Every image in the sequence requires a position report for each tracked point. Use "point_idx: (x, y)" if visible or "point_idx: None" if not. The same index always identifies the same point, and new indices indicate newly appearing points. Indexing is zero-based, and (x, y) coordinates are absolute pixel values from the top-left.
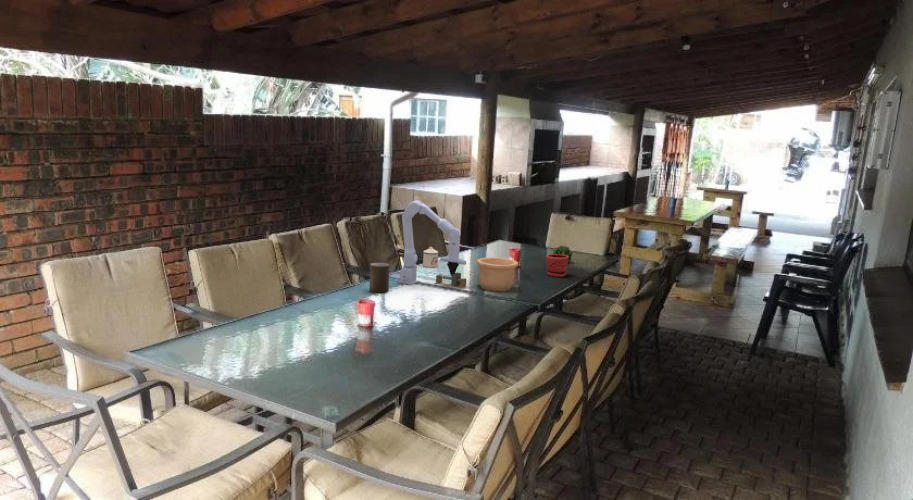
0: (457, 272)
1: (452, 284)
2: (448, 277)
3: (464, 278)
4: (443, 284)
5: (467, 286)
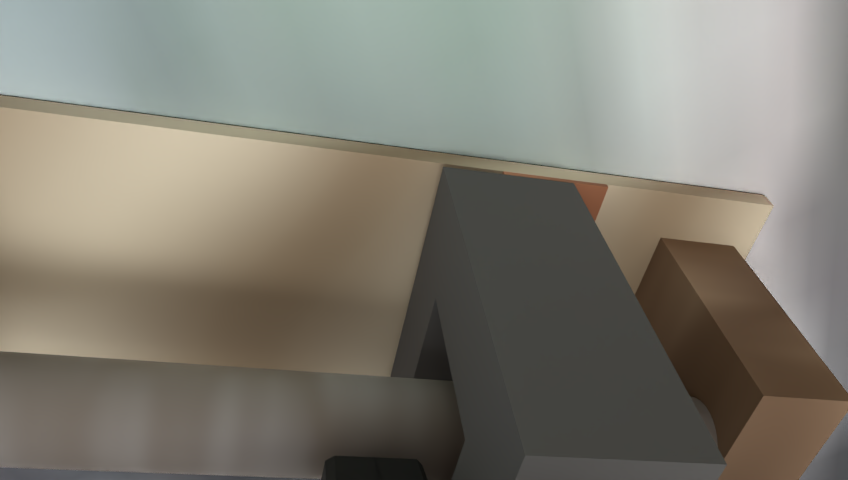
0: (542, 460)
1: None
2: (218, 471)
3: (787, 412)
4: (127, 356)
5: (768, 201)
